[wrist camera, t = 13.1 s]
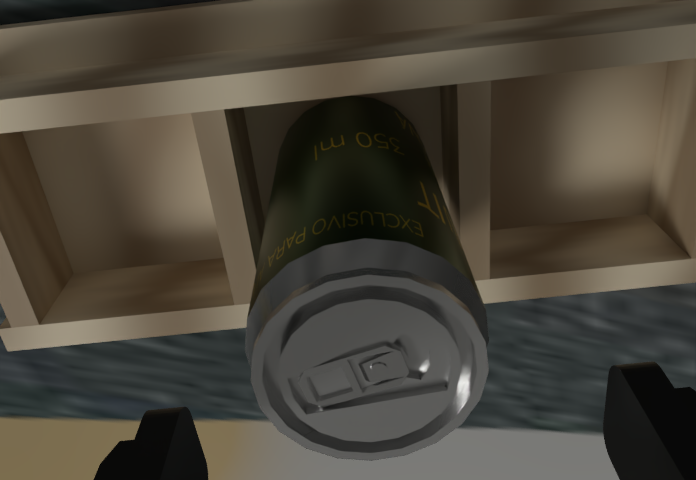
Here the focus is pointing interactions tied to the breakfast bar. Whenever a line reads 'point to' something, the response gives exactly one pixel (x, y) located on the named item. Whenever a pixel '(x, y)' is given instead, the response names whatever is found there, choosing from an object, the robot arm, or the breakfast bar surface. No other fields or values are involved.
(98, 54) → the wooden compartment organizer
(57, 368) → the breakfast bar surface
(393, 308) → the beer can
